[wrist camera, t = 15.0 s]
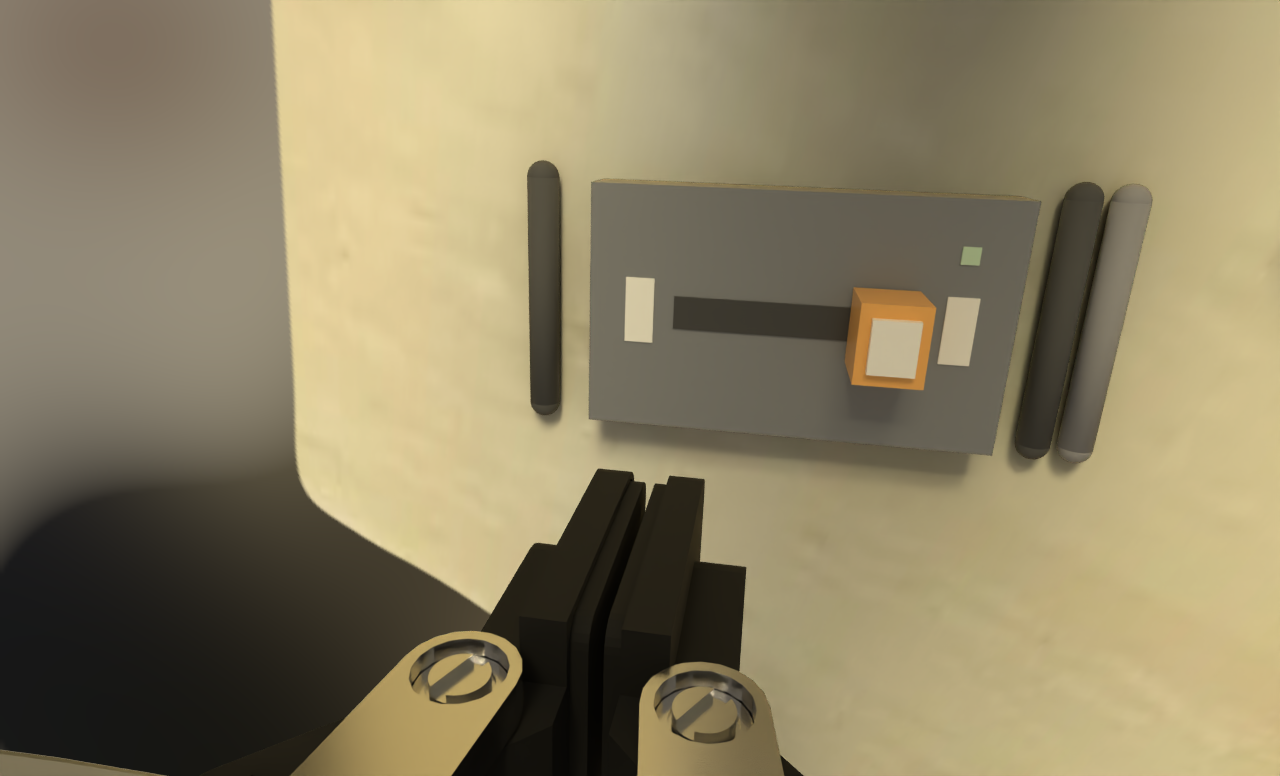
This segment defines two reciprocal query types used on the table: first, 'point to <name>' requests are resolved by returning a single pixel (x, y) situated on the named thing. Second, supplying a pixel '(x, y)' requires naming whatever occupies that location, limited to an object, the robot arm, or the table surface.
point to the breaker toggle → (889, 338)
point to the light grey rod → (1104, 320)
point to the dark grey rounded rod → (544, 286)
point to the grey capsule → (1059, 318)
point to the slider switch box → (800, 308)
